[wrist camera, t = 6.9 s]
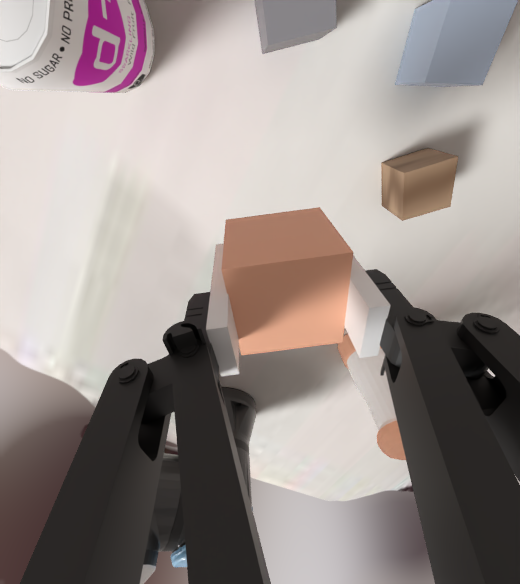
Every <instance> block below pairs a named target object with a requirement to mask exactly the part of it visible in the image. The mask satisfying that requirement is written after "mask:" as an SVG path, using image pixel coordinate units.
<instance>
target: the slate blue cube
mask: <svg viewBox="0 0 520 584" xmlns="http://www.w3.org/2000/svg"><path fill="white" fill-rule="evenodd" d="M517 2H518V0H433V1H431V2H428V3H426V4H424V5H422V6H420V7H418V8H416V9H415V11H414V15H413V19H412V22H411V26H410V30H409V34H408V37H407V41H406V45H405V49H404V52H403V56H402V60H401V64H400V67H399V71H398V75H397V79H396V82H395V85H414V86H437V87H451V86H473V85H483V82H484V80H485V77H486V75H487V73H488V70H489V68H490V66H491V63H492V61H493V59H494V56H495V54H496V51H497V49H498V47H499V44H500V42H501V40H502V37H503V35H504V32H505V30H506V28H507V25H508V23H509V21H510V18H511V16H512V14H513V11H514V9H515V6H516V4H517Z"/></svg>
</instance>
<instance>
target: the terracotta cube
mask: <svg viewBox="0 0 520 584" xmlns="http://www.w3.org/2000/svg"><path fill="white" fill-rule="evenodd" d="M352 260H353V251H352V250H351V249H350V247H349V246H348V245H347V243H346V242H345V241H344V239H343V238H342V237H341V235H340V234H339V233H338V231H337V230H336V229H335V227H334V226H333V225H332V223H331V222H330V221H329V219H328V218H327V217H326V215H325V214H324V213H323V211H322V210H321V209H320V207H319V208H312V209H304V210H297V211H289V212H281V213H274V214H266V215H259V216H251V217H244V218H236V219H228V220H226V224H225V235H224V247H223V258H222V269H221V270H222V274H223V279H224V283H225V287H226V291H227V294H228V295H229V299H230V304H231V308H232V312H233V317H234V321H235V326H236V330H237V335H238V339H239V347H240V352H241V355H249V354H257V353H265V352H272V351H280V350H288V349H296V348H304V347H312V346H319V345H327V344H335V343H343V335H344V325H345V317H346V308H347V300H348V292H349V284H350V276H351V268H352Z"/></svg>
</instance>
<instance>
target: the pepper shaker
mask: <svg viewBox="0 0 520 584" xmlns="http://www.w3.org/2000/svg"><path fill="white" fill-rule="evenodd" d="M338 350H339V353H340V355H341V357H342V360H343V362H344V365H345V367H347V368H348V369H349V371H350V374H351V376H352V379H353V381H354V384H355V386H356V387H357V389H358V391H359V392H360V394H361V395H362V397H363V399H364V400H365V402H366V403H367V405H368V407H369V410H370V412H371V414H372V416H373V419H374V421H375V423H376V426H377V428H378V430H379V431H378V434H377V443H378V446H379V447H380V449H381V450H382V452H383V453H385V454H386V455H387V456H389V457H390V458H394V459H400V460H406V457H405V452H404V448H403V444H402V440H401V435H400V431H399V427H398V423H397V418H396V414H395V410H394V405H393V401H392V397H391V393H390V388H389V384H388V380H387V376H386V371H385V372H384V375H383V376H382V375H380V373H381V367H382V364H383V360H384V357H385V353H384V352H383V350H382V348H381V346H380V349H379V353H378V356H371V357H364V358H359V356H358V354H357V352H356V350H355V348H354V345H353V343H352V341H351V339H350V337H349V335H348V334H346V335H345V336H344V337H343V343H338Z"/></svg>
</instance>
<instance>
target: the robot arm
mask: <svg viewBox="0 0 520 584" xmlns="http://www.w3.org/2000/svg"><path fill="white" fill-rule="evenodd" d="M223 247H224V244H218V245H216V250H215V258H214V266H213V275H212V283H211V291H210V292H207V293H199V294H194V295H193V296H192V298H191V299H190V300H189V302H188V306H187V311H186V315H185V319H184V321H183V322H179V323H177V324H174V325H173V326H171V327H170V328H169V329H168V330H167V331H166V332H165V334H164V336H163V342H164V344H165V346H166V348H167V350H168V352H169V355H168V356H166V357H164V358H162V359H160V360H157V361H155V362H152V363H150V364H147V363H146V361H144V360H142V359H131V360H128V361H125V362H124V363H122V364H120V365H119V366H118V367H116V368H115V369H114V370H113V371H112V373H111V375H110V376H109V378H108V380H107V383H106V385H105V387H104V390H103V392H102V394H101V397H100V399H99V401H98V404H97V406H96V408H95V411H94V413H93V415H92V417H91V420H90V422H89V424H88V427H87V429H86V431H85V434H84V436H83V438H82V441H81V443H80V445H79V448H78V450H77V452H76V455H75V457H74V460H73V462H72V464H71V466H70V469H69V471H68V473H67V476H66V478H65V480H64V482H63V485H62V487H61V489H60V492H59V494H58V497H57V499H56V501H55V503H54V506H53V508H52V511H51V513H50V515H49V517H48V520H47V522H46V524H45V527H44V529H43V531H42V534H41V536H40V538H39V541H38V543H37V545H36V548H35V550H34V552H33V555H32V557H31V559H30V561H29V564H28V566H27V569H26V571H25V573H24V575H23V578H22V580H21V582H20V584H144V583H145V582H146V580H147V579H148V578H149V577H150V576H151V575H152V573H153V572H154V571H155V568H156V563H157V557H158V552H159V551H172V554H171V559H172V565H173V566H174V567H187V569H188V581H189V584H271V582H270V578H269V574H268V571H267V567H266V563H265V559H264V555H263V551H262V547H261V543H260V539H259V535H258V532H257V527H256V523H255V519H254V516H253V512H252V511H253V507H252V502H251V481H250V460H249V441H250V437H251V433H252V429H253V425H254V422H255V417H256V408H255V402H254V400H253V399H252V397H251V396H249V395H248V394H246V393H245V392H242V391H240V390H236V389H232V388H221V385H220V382H219V379H218V377H219V372H220V375H221V376H228V375H236V374H239V339H238V335H237V330H236V326H235V321H234V317H233V312H232V308H231V304H230V299H229V295H228V294H227V291H226V287H225V283H224V279H223V274H222V270H221V269H222V258H223ZM344 327H345V329H346V331H347V333H348V335H349V337H350V339H351V341H352V343H353V345H354V348H355V350H356V352H357V354H358V356H359V358H364V357H371V356H378V353H379V349H380V346H381V348H382V350H383V352H384V353H385V357H384V360H383V364H382V367H381V373H380V375H382V376H383V375H384V372H385V371H386V376H387V380H388V384H389V388H390V393H391V397H392V401H393V405H394V410H395V414H396V418H397V423H398V427H399V431H400V435H401V440H402V444H403V448H404V452H405V457H406V461H407V465H408V469H409V474H410V478H411V482H412V487H413V491H414V495H415V499H416V503H417V508H418V512H419V516H420V520H421V525H422V529H423V533H424V538H425V542H426V546H427V550H428V555H429V559H430V563H431V567H432V572H433V576H434V580H435V584H520V485H519V483H518V481H517V479H516V477H517V478H518V480H519V481H520V335H518V334H517V333H516V332H515V331H514V330H513V329H511V328H510V327H509V326H508V325H507V324H505V323H504V322H502V321H501V320H499V319H498V318H495V317H493V316H491V315H487V314H482V313H470V314H467V315H465V316H464V317H463V319H462V321H461V323H458V322H448V321H439V320H436V319H435V317H434V316H433V315H431V314H430V313H428V312H427V311H424V310H422V309H419V308H413V306H412V305H411V304H410V303H409V302H408V301H407V299H406V298H405V297H404V296H403V295H402V294H401V292H400V291H399V290H398V289H396V286H395V285H394V284H393V283H391V281H390V279H389V278H388V277H387V276H386V275H385V274H384V273H382V272H380V271H378V270H377V269H374V270H367V271H365V270H364V269H363V268H362V266H361V265H360V264H359V262H358V261H357V260H356V258H355V257H354V256H353V260H352V268H351V276H350V284H349V292H348V300H347V308H346V317H345V325H344ZM488 368H489V369H490V370H491V371H492V372H493V373H494V374H495V377H493V376H492V375H491V374H489V373H488V371H487V370H488ZM174 411H175V421H176V434H177V446H178V455H173V454H164V449H165V444H166V439H167V433H168V428H169V422H170V417H171V413H172V412H174ZM514 474H515V475H514ZM515 476H516V477H515Z"/></svg>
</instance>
